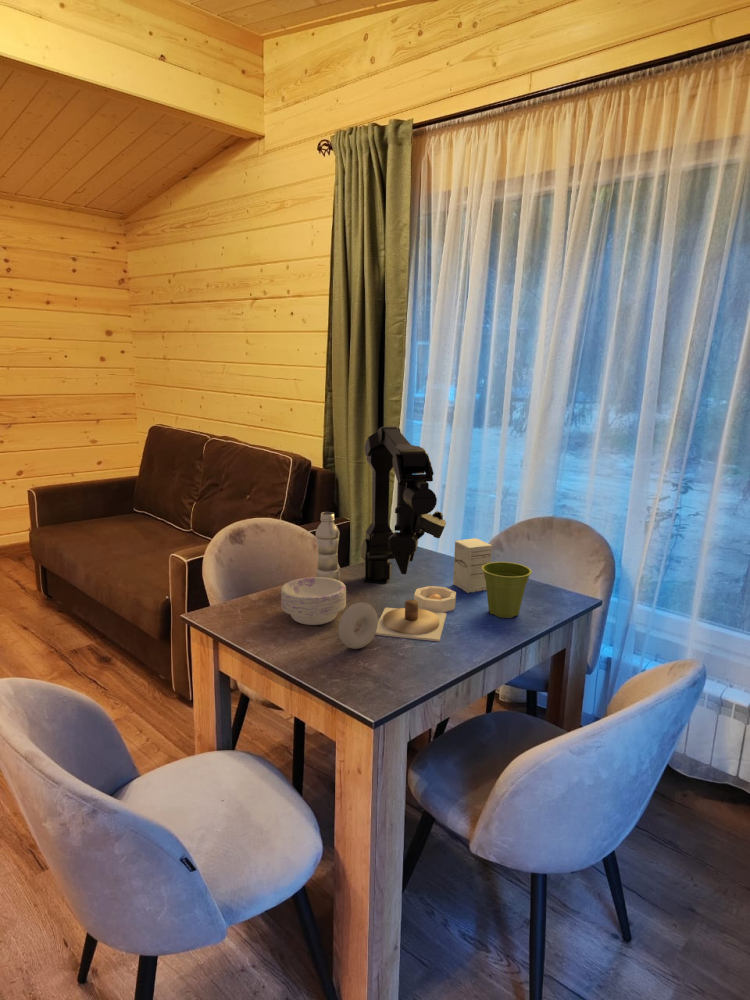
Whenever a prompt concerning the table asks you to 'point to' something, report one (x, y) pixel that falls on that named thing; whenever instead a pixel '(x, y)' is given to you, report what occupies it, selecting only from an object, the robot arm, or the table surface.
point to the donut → (351, 619)
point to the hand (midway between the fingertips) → (407, 567)
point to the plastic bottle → (327, 547)
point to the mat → (430, 636)
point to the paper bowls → (313, 599)
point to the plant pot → (505, 587)
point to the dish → (435, 599)
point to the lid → (411, 619)
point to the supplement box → (471, 564)
